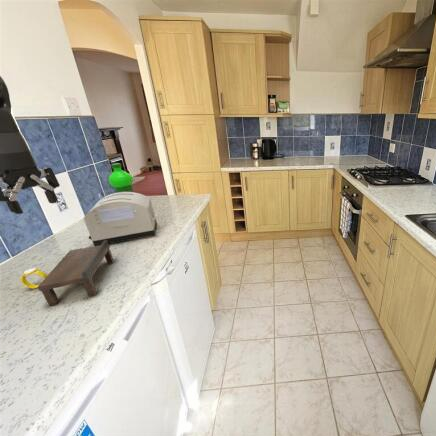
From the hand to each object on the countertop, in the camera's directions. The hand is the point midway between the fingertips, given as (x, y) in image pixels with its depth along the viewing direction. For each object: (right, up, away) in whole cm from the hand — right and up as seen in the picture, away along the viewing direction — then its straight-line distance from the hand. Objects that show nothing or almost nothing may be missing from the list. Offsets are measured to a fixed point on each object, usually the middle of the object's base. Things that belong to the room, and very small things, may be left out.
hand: (37, 207), depth 70 cm
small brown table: (+9, -23, +6) cm, 25 cm away
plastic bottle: (-16, +2, +64) cm, 66 cm away
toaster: (+1, -9, +39) cm, 40 cm away
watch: (-3, -24, +4) cm, 25 cm away
